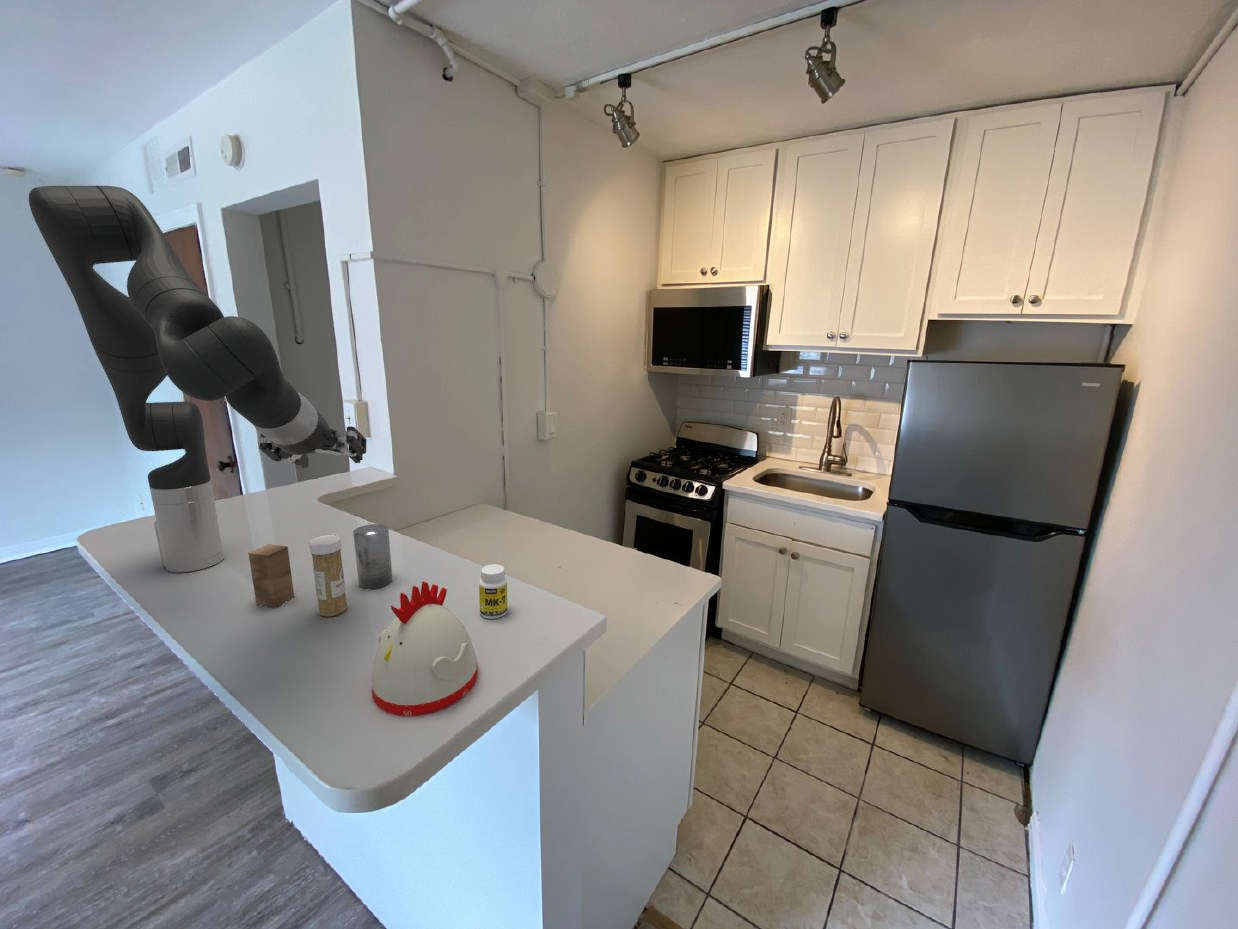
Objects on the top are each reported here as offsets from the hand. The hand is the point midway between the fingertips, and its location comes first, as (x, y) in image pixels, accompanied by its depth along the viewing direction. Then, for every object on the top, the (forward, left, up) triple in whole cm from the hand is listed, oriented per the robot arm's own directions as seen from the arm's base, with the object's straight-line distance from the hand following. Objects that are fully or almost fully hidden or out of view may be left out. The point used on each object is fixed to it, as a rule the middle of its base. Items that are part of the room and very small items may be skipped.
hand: (332, 460), depth 88 cm
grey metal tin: (+3, +4, -25) cm, 26 cm away
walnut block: (-9, -7, -25) cm, 28 cm away
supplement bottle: (+30, 0, -26) cm, 39 cm away
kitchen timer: (+29, -19, -26) cm, 43 cm away
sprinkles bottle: (+3, -7, -26) cm, 27 cm away
